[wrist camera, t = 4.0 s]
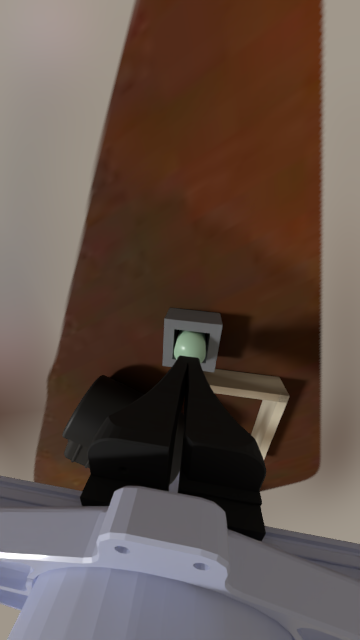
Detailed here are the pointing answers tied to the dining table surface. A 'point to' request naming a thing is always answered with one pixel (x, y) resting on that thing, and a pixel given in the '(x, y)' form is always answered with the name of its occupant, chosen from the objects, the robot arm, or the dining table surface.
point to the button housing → (196, 323)
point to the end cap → (93, 412)
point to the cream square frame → (256, 388)
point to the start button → (190, 345)
